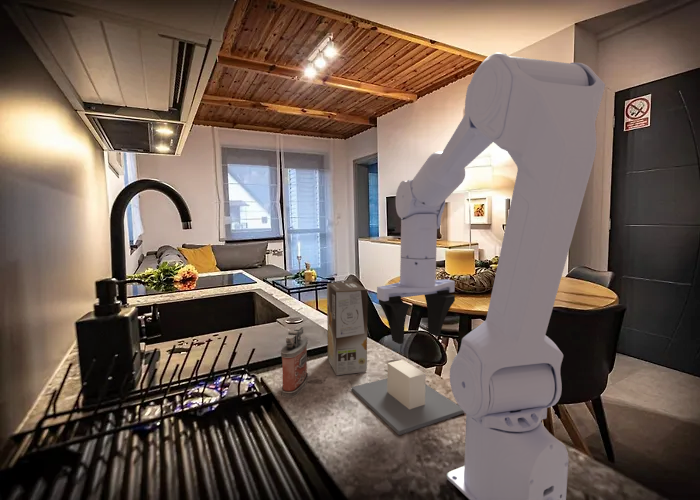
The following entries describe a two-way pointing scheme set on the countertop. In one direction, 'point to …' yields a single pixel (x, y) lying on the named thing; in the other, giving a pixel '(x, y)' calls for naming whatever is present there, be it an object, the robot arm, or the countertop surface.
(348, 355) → the coffee box
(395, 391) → the beige rectangular block
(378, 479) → the countertop surface
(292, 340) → the lighter
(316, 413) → the countertop surface
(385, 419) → the mat
